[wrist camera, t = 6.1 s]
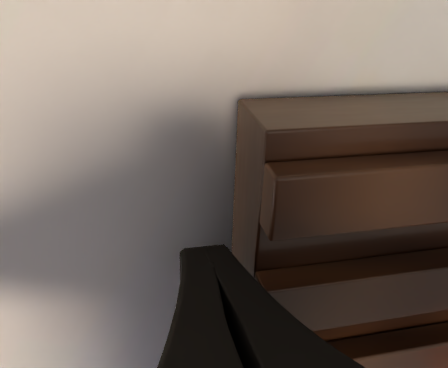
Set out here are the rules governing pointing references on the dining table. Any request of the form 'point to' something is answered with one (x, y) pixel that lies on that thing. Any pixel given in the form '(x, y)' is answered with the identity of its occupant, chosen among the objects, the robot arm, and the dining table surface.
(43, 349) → the dining table surface
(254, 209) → the trivet
